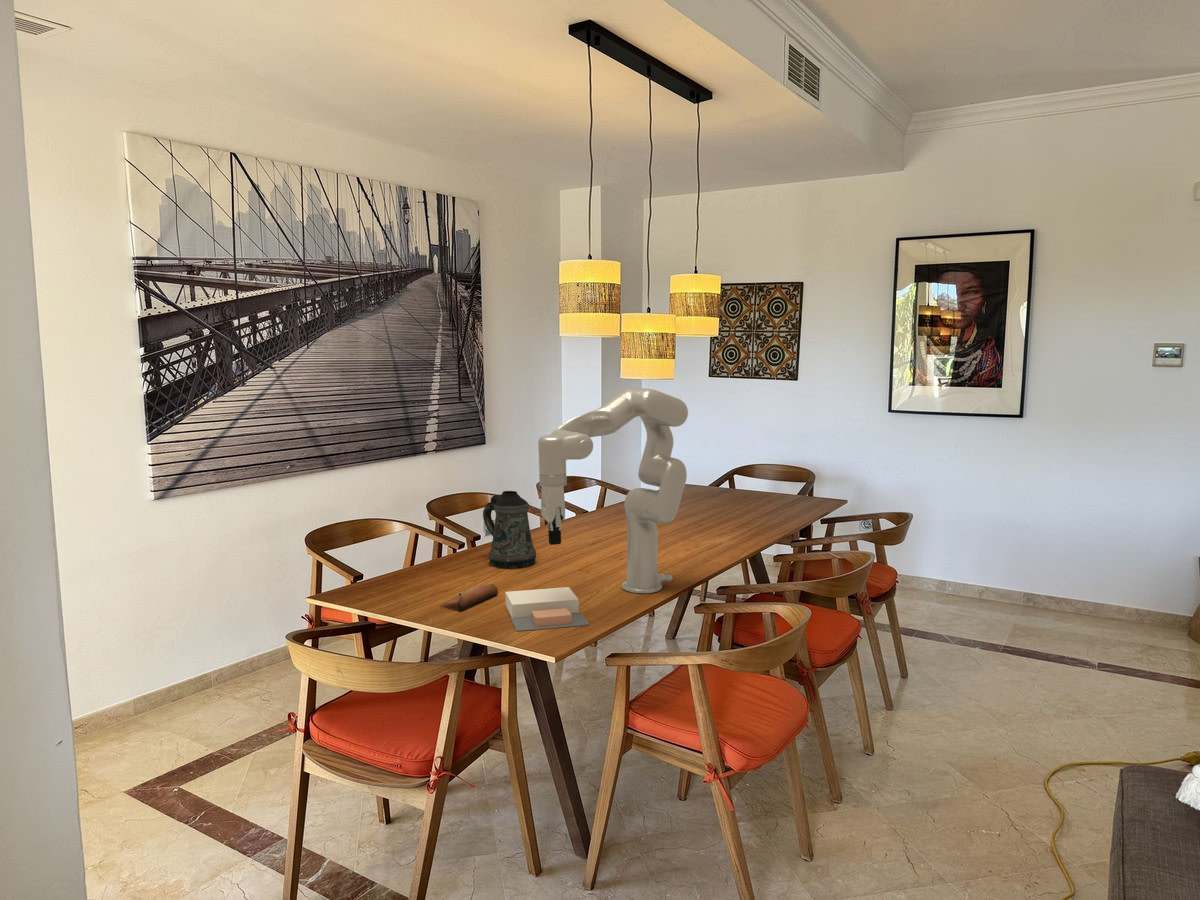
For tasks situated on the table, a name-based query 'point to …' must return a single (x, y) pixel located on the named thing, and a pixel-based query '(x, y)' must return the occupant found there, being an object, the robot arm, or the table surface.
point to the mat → (528, 625)
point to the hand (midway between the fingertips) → (554, 543)
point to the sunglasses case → (470, 597)
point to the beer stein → (509, 532)
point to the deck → (540, 601)
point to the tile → (551, 617)
